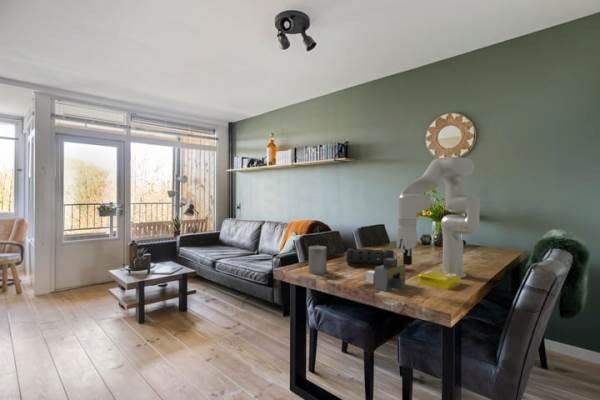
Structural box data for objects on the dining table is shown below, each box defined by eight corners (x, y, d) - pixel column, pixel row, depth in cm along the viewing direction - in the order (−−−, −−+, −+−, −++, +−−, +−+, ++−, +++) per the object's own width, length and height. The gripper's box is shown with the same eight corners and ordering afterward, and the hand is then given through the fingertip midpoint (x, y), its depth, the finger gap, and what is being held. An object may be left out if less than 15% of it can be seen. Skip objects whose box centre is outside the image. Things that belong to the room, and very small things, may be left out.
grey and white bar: (370, 280, 151) (370, 270, 151) (405, 288, 138) (405, 277, 138) (366, 282, 148) (366, 271, 148) (401, 290, 135) (401, 279, 135)
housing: (393, 281, 149) (393, 255, 149) (405, 284, 145) (405, 257, 144) (374, 288, 138) (374, 260, 137) (386, 291, 133) (386, 262, 133)
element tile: (431, 277, 158) (431, 268, 157) (462, 284, 146) (462, 274, 146) (416, 283, 148) (416, 273, 147) (448, 290, 136) (449, 280, 136)
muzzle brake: (348, 263, 189) (348, 246, 188) (396, 266, 180) (396, 249, 180) (346, 266, 179) (346, 249, 179) (396, 270, 171) (396, 252, 171)
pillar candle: (314, 269, 173) (314, 242, 172) (330, 271, 167) (329, 244, 167) (305, 273, 165) (304, 245, 164) (320, 275, 159) (320, 247, 159)
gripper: (407, 220, 143) (407, 260, 143) (390, 223, 132) (391, 266, 133) (423, 221, 137) (423, 262, 138) (407, 224, 127) (407, 269, 128)
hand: (407, 264), depth 136 cm, fingers closed
